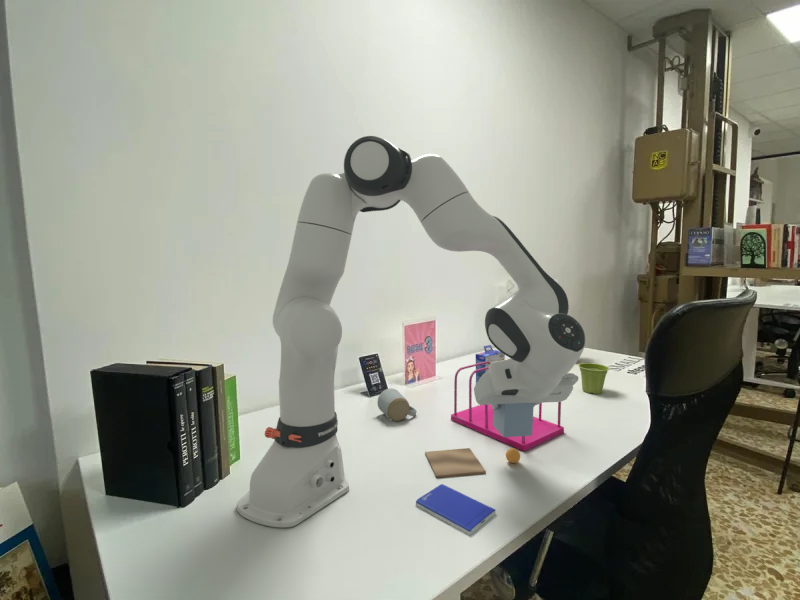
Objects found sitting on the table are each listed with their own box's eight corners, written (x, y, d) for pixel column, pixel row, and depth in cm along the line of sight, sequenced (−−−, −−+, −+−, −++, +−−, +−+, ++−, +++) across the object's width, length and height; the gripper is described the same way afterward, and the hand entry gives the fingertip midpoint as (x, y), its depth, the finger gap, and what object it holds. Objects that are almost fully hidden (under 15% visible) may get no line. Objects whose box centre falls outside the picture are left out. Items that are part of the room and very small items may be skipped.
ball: (518, 467, 94) (519, 453, 94) (504, 464, 95) (504, 450, 95) (521, 460, 97) (521, 447, 96) (507, 457, 98) (507, 444, 98)
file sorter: (524, 452, 101) (526, 389, 99) (450, 420, 121) (450, 367, 119) (564, 433, 112) (566, 375, 110) (490, 406, 131) (491, 357, 129)
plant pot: (593, 385, 150) (594, 361, 149) (614, 394, 141) (615, 368, 140) (571, 388, 147) (572, 364, 146) (591, 397, 138) (592, 371, 137)
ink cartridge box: (493, 381, 155) (494, 343, 154) (505, 385, 151) (506, 345, 149) (474, 386, 150) (474, 346, 148) (485, 391, 145) (486, 349, 144)
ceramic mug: (387, 424, 117) (388, 398, 117) (377, 414, 125) (377, 389, 124) (421, 419, 122) (422, 393, 121) (409, 409, 129) (409, 385, 128)
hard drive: (415, 500, 80) (470, 529, 71) (442, 482, 86) (495, 508, 77) (415, 507, 80) (469, 538, 72) (442, 490, 86) (495, 516, 77)
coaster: (485, 473, 91) (485, 471, 91) (436, 478, 90) (436, 475, 90) (469, 450, 102) (469, 448, 102) (425, 453, 100) (425, 451, 100)
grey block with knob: (532, 435, 92) (534, 390, 91) (503, 437, 91) (505, 391, 90) (519, 424, 98) (521, 381, 97) (492, 425, 97) (494, 382, 96)
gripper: (576, 360, 88) (550, 391, 98) (482, 362, 85) (465, 394, 95) (587, 388, 84) (559, 417, 95) (489, 391, 81) (471, 421, 91)
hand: (511, 405), depth 95 cm, fingers closed on grey block with knob, 6 cm apart
